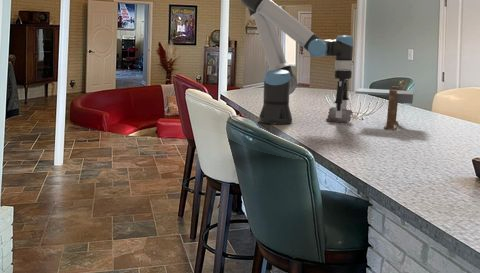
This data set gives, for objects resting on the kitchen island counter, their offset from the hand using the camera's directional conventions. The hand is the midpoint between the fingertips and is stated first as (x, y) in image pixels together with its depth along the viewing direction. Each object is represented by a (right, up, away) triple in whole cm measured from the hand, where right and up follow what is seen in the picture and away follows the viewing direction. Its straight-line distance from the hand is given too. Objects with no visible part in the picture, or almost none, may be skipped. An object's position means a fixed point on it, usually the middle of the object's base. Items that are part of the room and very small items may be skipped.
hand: (340, 115), depth 218 cm
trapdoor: (+18, +7, -8) cm, 21 cm away
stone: (-1, -3, +1) cm, 3 cm away
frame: (+21, -5, -7) cm, 23 cm away
